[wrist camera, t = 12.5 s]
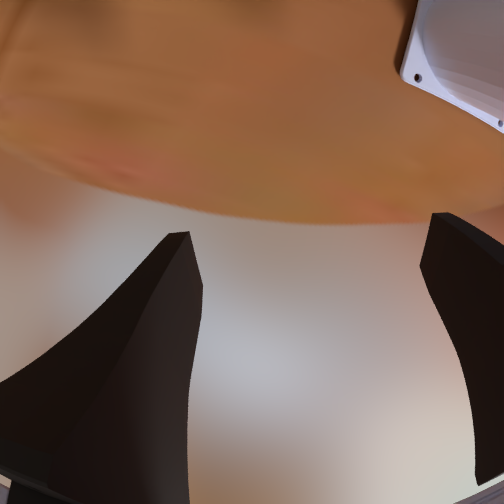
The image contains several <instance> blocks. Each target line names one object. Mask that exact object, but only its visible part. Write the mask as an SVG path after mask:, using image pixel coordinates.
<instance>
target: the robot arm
mask: <svg viewBox="0 0 504 504" xmlns="http://www.w3.org/2000/svg"><path fill="white" fill-rule="evenodd" d="M415 74H418V76H419V79H418V81H415V80H414V76H415ZM400 77H401V79H402V80H403V81H405V82H407V83H409V84H411V85H414V86H416V87H418V88H420V89H423V90H425V91H427V92H429V93H431V94H433V95H435V96H437V97H440V98H442V99H444V100H446V101H448V102H450V103H451V104H453V105H455V106H457V107H459V108H461V109H463V110H465V111H466V112H468V113H470V114H472V115H474V116H475V117H477V118H479V119H481V120H482V121H484V122H486V123H487V124H489V125H491V126H492V127H494V128H496V129H497V130H499V131H500V132H502V133H504V0H419V1H418V5H417V9H416V13H415V17H414V21H413V25H412V29H411V33H410V37H409V41H408V44H407V48H406V51H405V55H404V59H403V62H402V65H401V69H400ZM499 120H500V123H499V125H498V121H499ZM420 269H421V272H422V275H423V278H424V280H425V283H426V286H427V289H428V292H429V294H430V296H431V298H432V300H433V302H434V304H435V306H436V309H437V310H438V312H439V314H440V316H441V319H442V321H443V323H444V325H445V327H446V329H447V332H448V334H449V336H450V338H451V340H452V342H453V345H454V347H455V349H456V352H457V355H458V357H459V360H460V363H461V367H462V371H463V374H464V378H465V382H466V386H467V390H468V395H469V400H470V405H471V411H472V418H473V426H474V436H475V477H476V481H477V484H478V486H480V485H482V484H484V483H486V482H488V481H490V480H492V479H494V478H496V477H498V476H500V475H502V474H504V245H502V244H501V243H500V242H498V241H496V240H495V239H493V238H492V237H491V236H489V235H487V234H486V233H484V232H483V231H481V230H479V229H478V228H476V227H475V226H473V225H471V224H470V223H468V222H466V221H464V220H463V219H461V218H459V217H457V216H455V215H453V214H451V213H448V212H446V213H432V217H431V222H430V226H429V230H428V235H427V239H426V243H425V247H424V251H423V255H422V258H421V262H420ZM202 295H203V284H202V280H201V276H200V272H199V269H198V264H197V260H196V257H195V252H194V248H193V244H192V241H191V236H190V232H189V231H188V232H177V233H169V234H168V235H167V236H166V237H165V238H164V239H163V240H162V241H161V242H160V243H159V244H158V245H157V246H156V247H155V248H154V250H153V251H152V252H151V253H150V254H149V255H148V256H147V257H146V258H145V259H144V261H143V262H142V263H141V264H140V265H139V266H138V267H137V269H135V270H134V272H133V273H132V274H131V275H130V276H129V277H128V278H127V279H126V280H125V281H124V282H123V283H122V284H121V285H120V286H119V287H118V288H117V289H116V290H115V291H114V293H113V294H112V295H111V296H110V297H109V298H108V299H107V300H106V301H105V302H104V303H103V304H102V305H101V306H100V307H99V308H98V309H97V310H96V311H94V313H92V314H91V315H90V316H89V317H88V318H87V319H86V320H85V321H83V322H82V323H81V324H80V325H79V326H78V327H77V328H76V329H74V330H73V331H72V332H71V333H70V334H68V335H67V336H66V337H64V338H63V339H62V340H61V341H59V342H58V343H57V344H56V345H54V346H53V347H52V348H51V349H49V350H48V351H47V352H46V353H44V354H43V355H41V356H40V357H39V358H37V359H36V360H34V361H33V362H32V363H30V364H29V365H27V366H26V367H25V368H23V369H21V370H20V371H18V372H17V373H15V374H14V375H12V376H10V377H9V378H8V379H6V380H4V381H2V382H0V474H1V475H3V476H5V477H7V478H8V479H11V480H12V481H11V486H10V488H8V487H6V486H4V485H2V484H0V504H190V500H189V487H188V464H187V420H188V396H189V387H190V379H191V372H192V367H193V361H194V355H195V349H196V344H197V338H198V332H199V327H200V321H201V313H202ZM454 504H504V480H503V481H501V482H499V483H497V484H496V485H493V486H491V487H489V488H487V489H485V490H483V491H481V492H479V493H477V494H475V495H473V496H471V497H468V498H466V499H463V500H461V501H459V502H456V503H454Z"/></svg>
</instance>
